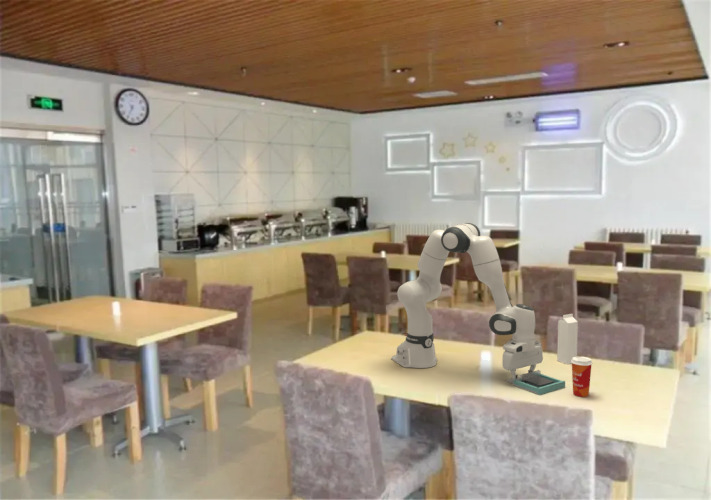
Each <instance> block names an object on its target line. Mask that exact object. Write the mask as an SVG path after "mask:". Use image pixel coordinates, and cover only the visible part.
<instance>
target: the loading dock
mask: <svg viewBox="0 0 711 500" xmlns="http://www.w3.org/2000/svg"><path fill="white" fill-rule="evenodd" d="M540 377H542V378H545V379H548V380H551V381H554V383H553V384H550V385H546V386H543V387H536V386H534V385H531V384H528V383H525V382H521V381H520V376H518V378H517V379H515V380H514V379H512V378H510V379H506V380H505V382H507V383H509V384H512V385H513V386H514V387H515V388H516V387H517V388H518V389H519V388H520V389H521V390H525V391H527V392H529V393H530V392H531V393H532V394H535V395H538V396H542V395H545V394H547V393H551V392H555V391H559V390H561V389H565V388H566V381H565V380H561V379H558V378H554V377H553V376H549V375H545V374H543V373H541V375H540Z"/></svg>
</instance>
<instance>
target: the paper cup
mask: <svg viewBox="0 0 711 500" xmlns="http://www.w3.org/2000/svg"><path fill="white" fill-rule="evenodd" d="M571 362H572V363H571V372H572V375H571V377H572V378H571V379H572V381H571V382H572V393H573V395H574V396H576V397H580V398H581V397H582V398H586V397H589V394H590V386H591V375H592V374H591V373H592V364H593V361H592V358H590V357H587V356H577V357H573V358H572V360H571Z"/></svg>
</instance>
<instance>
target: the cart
mask: <svg viewBox="0 0 711 500" xmlns="http://www.w3.org/2000/svg"><path fill="white" fill-rule="evenodd" d="M541 374H542V373H541V370H540V369H537V370H534V371H533V372H530V373H528V372H527V373H522V374H520V375H519V377H520V381H521V382H525V383H528V384H531V385H534V386H536V387H543V386H546V385H550V384H553V383H554V381H551V380H548V379H545V378H542V377H540V375H541Z"/></svg>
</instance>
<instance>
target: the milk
mask: <svg viewBox="0 0 711 500" xmlns="http://www.w3.org/2000/svg"><path fill="white" fill-rule="evenodd" d="M578 323H579V321H578V320H577V319H575V317H574V314H573V313H569V314H563V316H562V318H560V319H558V320H557V354H556V355H557V360H556V361H557V362H559V363H563V364H566V365H570V364H571V365H572V362H571V360H572V358H573V357H578V327H579V326H578V325H579V324H578Z"/></svg>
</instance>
